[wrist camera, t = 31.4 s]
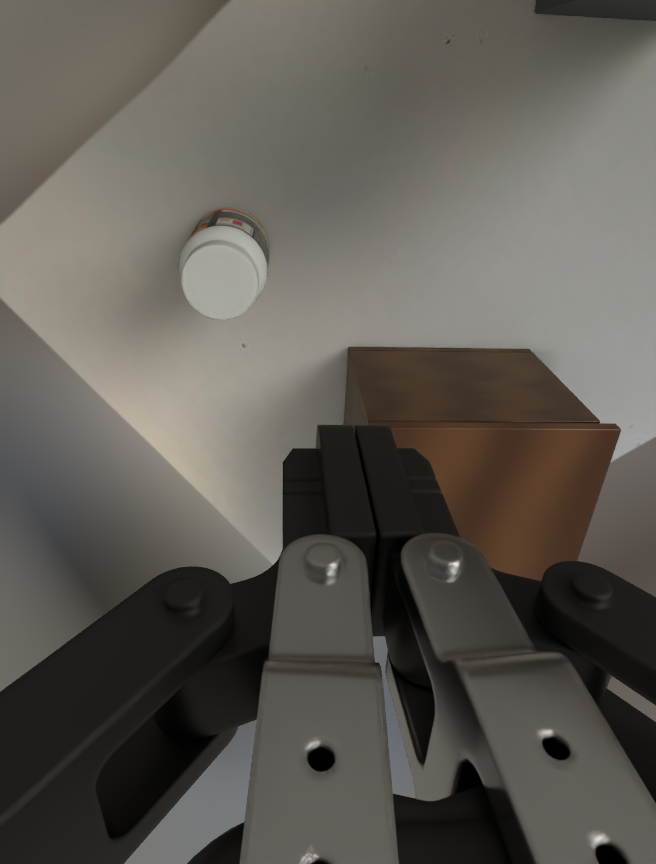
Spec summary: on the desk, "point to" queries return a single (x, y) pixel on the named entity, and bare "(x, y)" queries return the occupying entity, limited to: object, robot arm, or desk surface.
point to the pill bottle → (224, 264)
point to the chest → (456, 387)
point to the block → (600, 8)
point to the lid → (517, 485)
